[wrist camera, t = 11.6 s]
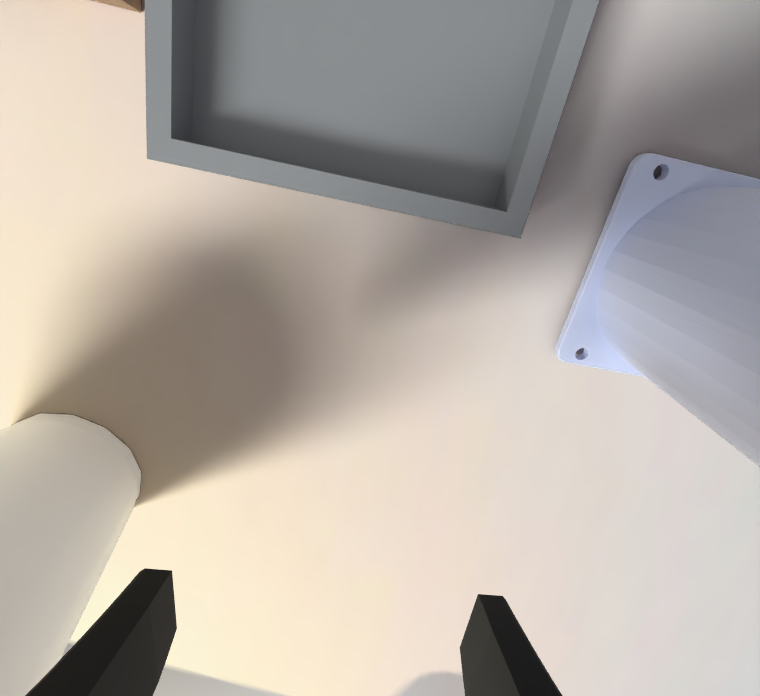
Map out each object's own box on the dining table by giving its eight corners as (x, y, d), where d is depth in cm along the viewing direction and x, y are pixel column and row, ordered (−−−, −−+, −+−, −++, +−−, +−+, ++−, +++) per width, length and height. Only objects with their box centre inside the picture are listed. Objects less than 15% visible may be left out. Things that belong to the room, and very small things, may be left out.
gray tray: (600, -81, 12) (640, -122, 10) (502, 229, 16) (520, 238, 14) (178, -206, 11) (140, -279, 9) (174, 158, 15) (146, 158, 13)
